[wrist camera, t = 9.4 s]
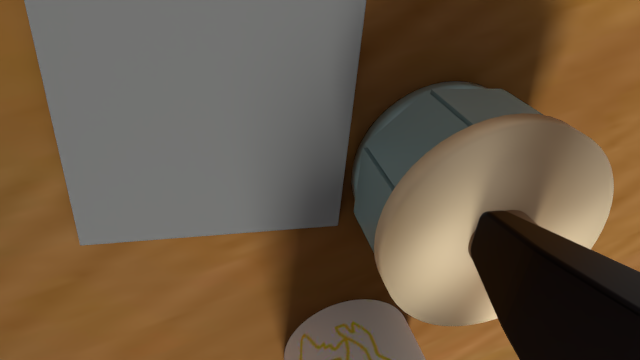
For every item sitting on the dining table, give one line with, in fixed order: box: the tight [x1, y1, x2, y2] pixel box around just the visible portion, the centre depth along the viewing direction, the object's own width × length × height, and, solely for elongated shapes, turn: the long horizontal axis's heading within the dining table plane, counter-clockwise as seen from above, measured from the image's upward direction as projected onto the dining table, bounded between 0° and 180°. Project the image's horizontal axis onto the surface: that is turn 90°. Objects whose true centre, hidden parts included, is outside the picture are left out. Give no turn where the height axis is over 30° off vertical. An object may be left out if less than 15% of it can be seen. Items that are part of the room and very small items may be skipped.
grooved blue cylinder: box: [351, 81, 543, 252], centre depth 22 cm, size 9×9×5 cm
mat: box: [24, 0, 366, 245], centre depth 20 cm, size 12×12×1 cm
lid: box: [374, 113, 614, 326], centre depth 18 cm, size 10×10×4 cm
